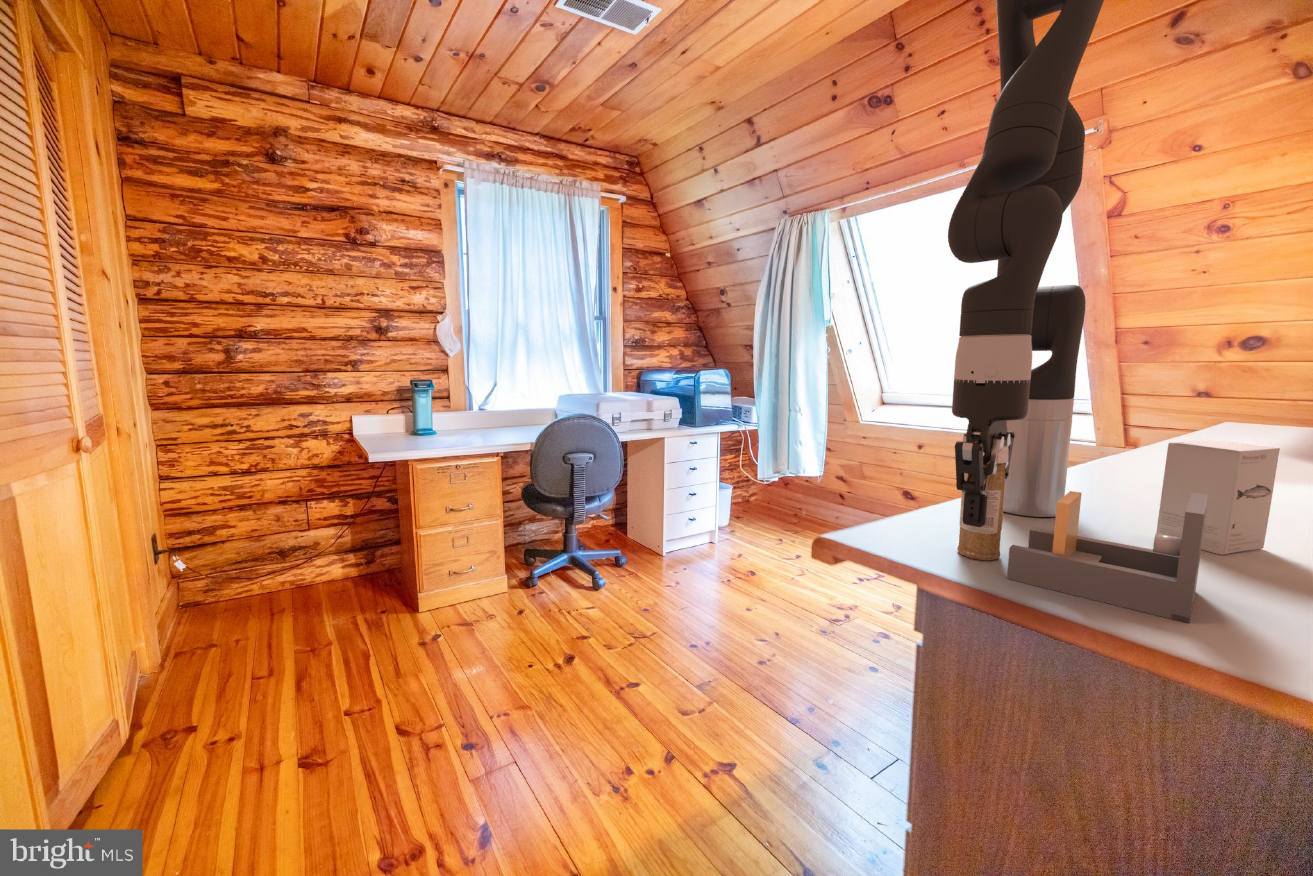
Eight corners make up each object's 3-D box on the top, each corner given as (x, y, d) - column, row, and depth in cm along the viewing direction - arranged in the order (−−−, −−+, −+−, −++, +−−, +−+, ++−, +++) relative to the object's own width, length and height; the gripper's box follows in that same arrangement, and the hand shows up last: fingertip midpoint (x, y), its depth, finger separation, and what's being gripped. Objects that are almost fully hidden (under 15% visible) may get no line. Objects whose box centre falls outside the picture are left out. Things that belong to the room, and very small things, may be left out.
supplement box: (1224, 556, 65) (1239, 450, 63) (1153, 537, 72) (1165, 441, 70) (1267, 550, 67) (1283, 446, 65) (1193, 531, 74) (1206, 438, 72)
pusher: (1063, 560, 62) (1070, 491, 61) (1101, 568, 60) (1109, 496, 59) (1049, 576, 58) (1057, 502, 57) (1090, 586, 55) (1099, 508, 54)
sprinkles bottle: (1004, 554, 66) (1013, 443, 64) (993, 564, 63) (1002, 448, 61) (963, 545, 70) (970, 440, 68) (950, 554, 67) (958, 444, 65)
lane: (1029, 555, 66) (1037, 473, 64) (1195, 591, 56) (1208, 494, 54) (1006, 578, 59) (1014, 487, 58) (1189, 623, 49) (1204, 514, 48)
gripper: (975, 373, 71) (966, 503, 73) (933, 378, 61) (924, 527, 64) (1045, 374, 66) (1032, 514, 68) (1011, 379, 56) (998, 542, 58)
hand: (980, 520), depth 66 cm, fingers closed on sprinkles bottle, 4 cm apart
